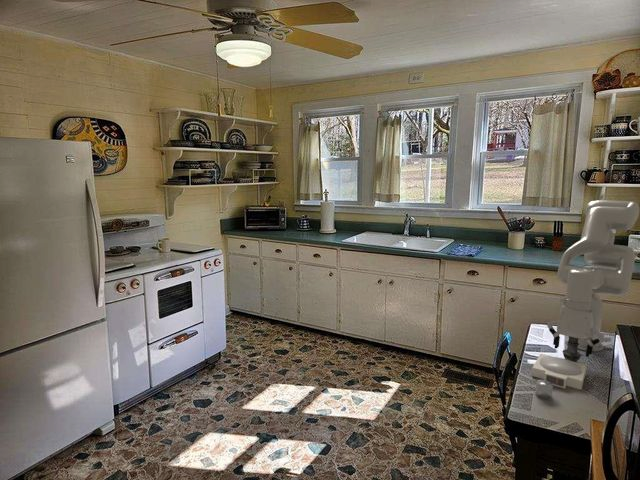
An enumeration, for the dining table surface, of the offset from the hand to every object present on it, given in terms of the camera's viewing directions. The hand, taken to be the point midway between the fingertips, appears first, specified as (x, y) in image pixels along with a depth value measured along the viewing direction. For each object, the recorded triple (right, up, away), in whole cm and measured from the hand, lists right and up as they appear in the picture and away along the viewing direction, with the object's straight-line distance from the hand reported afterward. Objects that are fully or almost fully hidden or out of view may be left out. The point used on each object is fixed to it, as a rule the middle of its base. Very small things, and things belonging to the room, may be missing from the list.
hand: (571, 351), depth 143 cm
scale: (-10, -6, -9) cm, 15 cm away
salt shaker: (0, -5, +1) cm, 5 cm away
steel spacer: (-22, -8, -21) cm, 32 cm away
